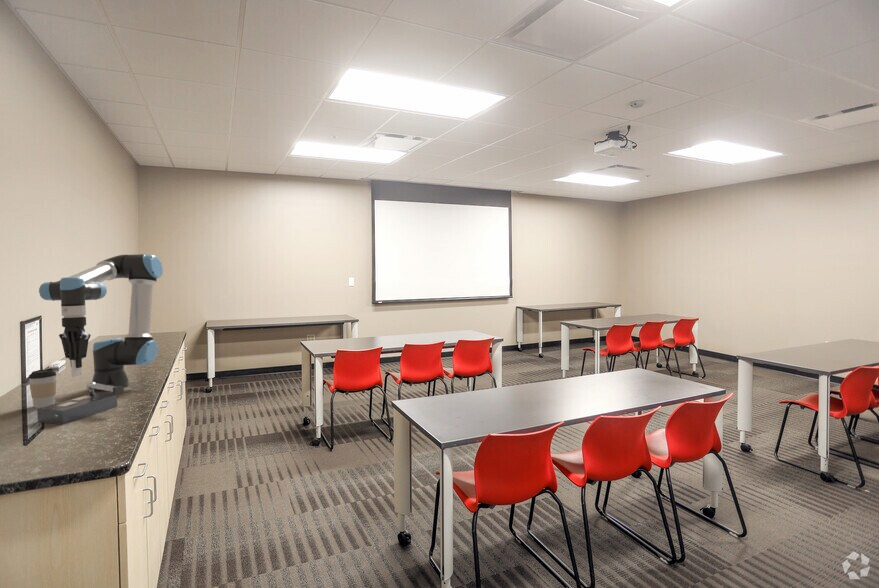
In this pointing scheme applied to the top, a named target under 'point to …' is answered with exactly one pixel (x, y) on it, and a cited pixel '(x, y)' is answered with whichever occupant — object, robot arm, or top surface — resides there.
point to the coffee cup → (43, 387)
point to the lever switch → (77, 408)
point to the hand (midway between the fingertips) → (76, 375)
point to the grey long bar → (105, 387)
